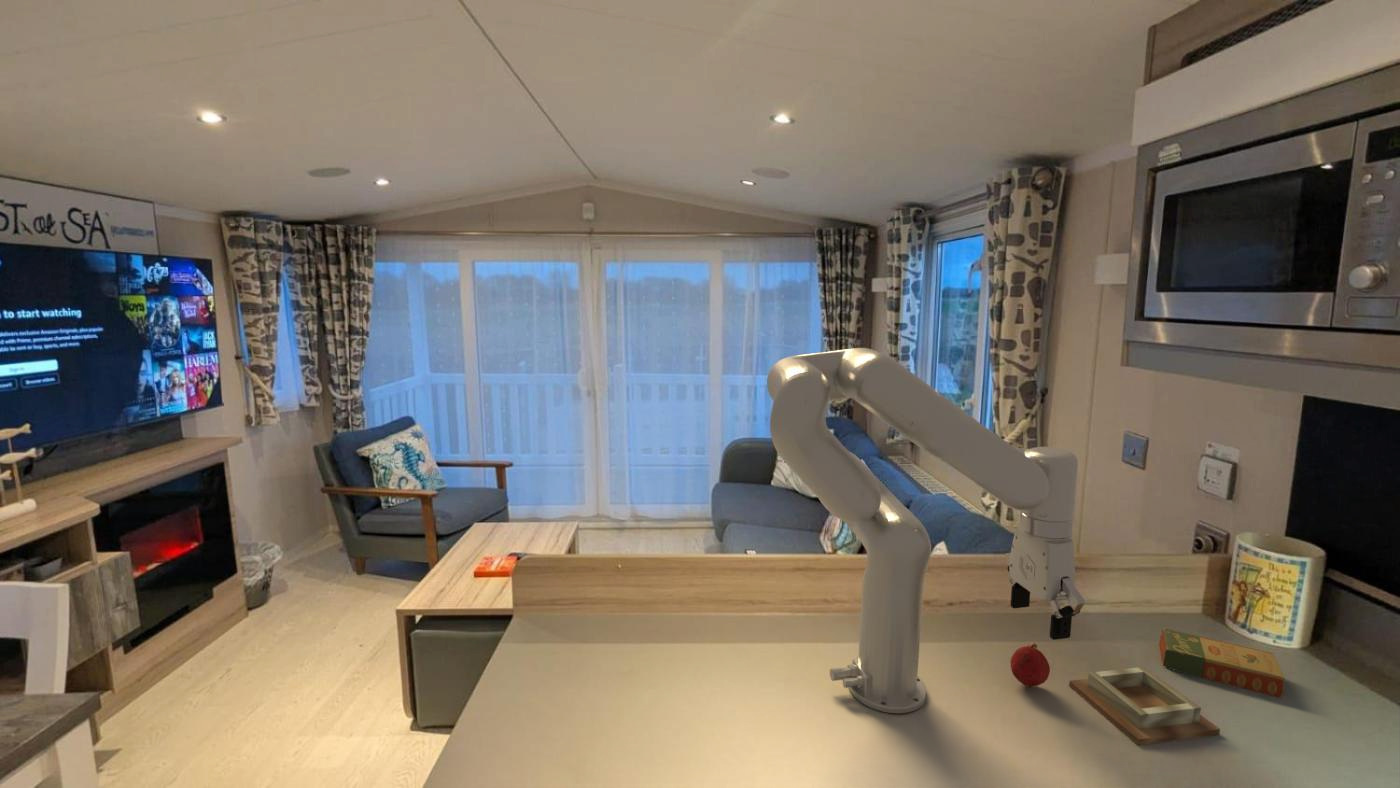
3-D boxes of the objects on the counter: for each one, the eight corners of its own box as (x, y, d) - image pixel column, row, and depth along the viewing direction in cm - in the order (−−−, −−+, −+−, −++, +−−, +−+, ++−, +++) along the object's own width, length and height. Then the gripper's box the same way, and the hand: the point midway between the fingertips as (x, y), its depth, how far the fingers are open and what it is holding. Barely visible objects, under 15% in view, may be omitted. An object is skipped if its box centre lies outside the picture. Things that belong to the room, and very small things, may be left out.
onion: (1032, 701, 103) (1036, 657, 102) (1001, 682, 108) (1005, 639, 107) (1054, 691, 106) (1059, 647, 104) (1023, 672, 111) (1027, 630, 109)
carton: (1281, 700, 104) (1286, 677, 103) (1161, 669, 112) (1165, 647, 111) (1270, 674, 111) (1274, 651, 110) (1158, 646, 119) (1161, 625, 118)
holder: (1137, 745, 93) (1140, 724, 93) (1069, 686, 107) (1071, 667, 106) (1219, 734, 95) (1222, 714, 95) (1141, 677, 109) (1144, 659, 108)
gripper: (991, 507, 109) (986, 598, 113) (1063, 548, 93) (1055, 654, 96) (1031, 503, 111) (1025, 594, 114) (1108, 543, 94) (1099, 648, 97)
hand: (1038, 621), depth 105 cm, fingers open, 9 cm apart
